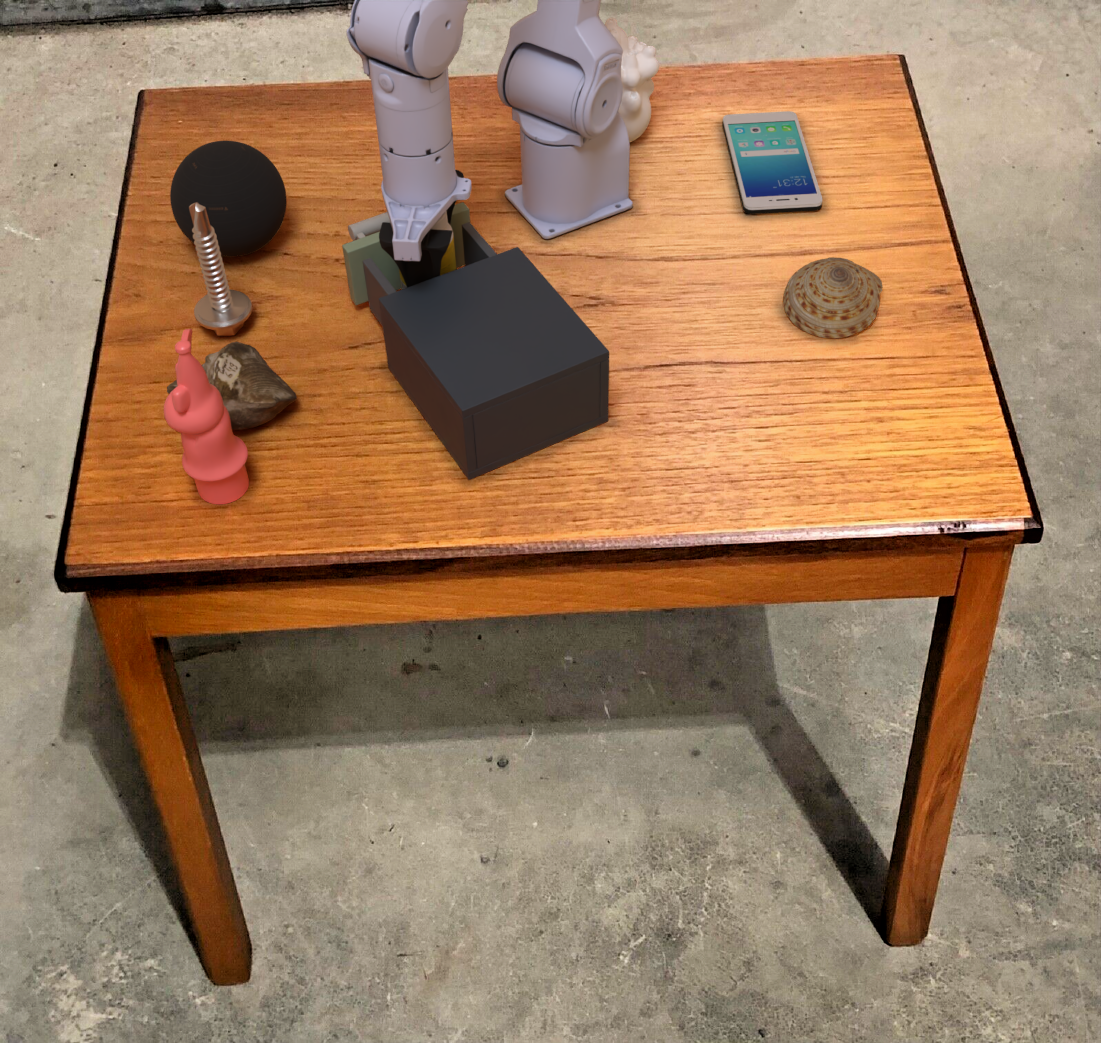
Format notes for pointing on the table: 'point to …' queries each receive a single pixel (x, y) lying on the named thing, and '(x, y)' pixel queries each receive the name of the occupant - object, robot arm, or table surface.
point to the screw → (216, 282)
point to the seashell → (832, 297)
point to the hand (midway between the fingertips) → (428, 275)
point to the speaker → (230, 195)
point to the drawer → (379, 272)
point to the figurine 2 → (635, 80)
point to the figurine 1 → (205, 431)
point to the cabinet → (495, 361)
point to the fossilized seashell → (246, 385)
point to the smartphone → (771, 163)
